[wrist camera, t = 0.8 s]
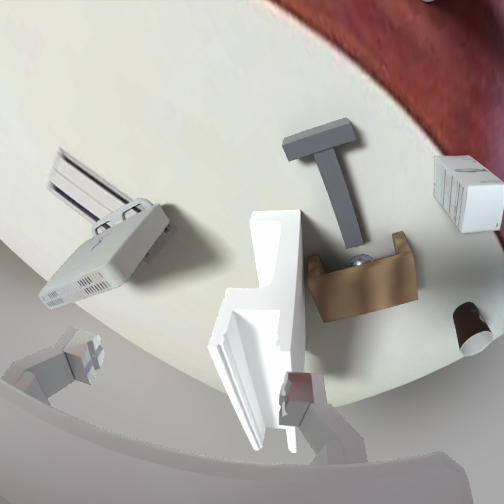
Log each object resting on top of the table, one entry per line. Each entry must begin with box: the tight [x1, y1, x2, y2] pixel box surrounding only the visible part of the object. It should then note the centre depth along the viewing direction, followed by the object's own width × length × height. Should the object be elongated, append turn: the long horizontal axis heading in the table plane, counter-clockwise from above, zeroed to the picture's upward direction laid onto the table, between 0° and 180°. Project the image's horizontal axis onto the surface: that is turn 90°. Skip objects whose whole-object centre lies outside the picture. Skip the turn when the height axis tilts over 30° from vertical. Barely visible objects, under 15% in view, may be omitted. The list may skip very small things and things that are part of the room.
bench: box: [308, 231, 418, 323], centre depth 50 cm, size 18×10×8 cm, turn 115°
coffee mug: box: [453, 302, 493, 356], centre depth 52 cm, size 12×9×10 cm
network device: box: [38, 198, 170, 310], centre depth 49 cm, size 26×9×20 cm, turn 116°
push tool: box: [282, 118, 364, 249], centre depth 43 cm, size 10×20×4 cm, turn 25°
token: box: [348, 254, 373, 268], centre depth 52 cm, size 5×5×2 cm
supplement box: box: [433, 155, 504, 234], centre depth 34 cm, size 7×7×13 cm
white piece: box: [207, 210, 306, 453], centre depth 48 cm, size 35×8×28 cm, turn 8°
